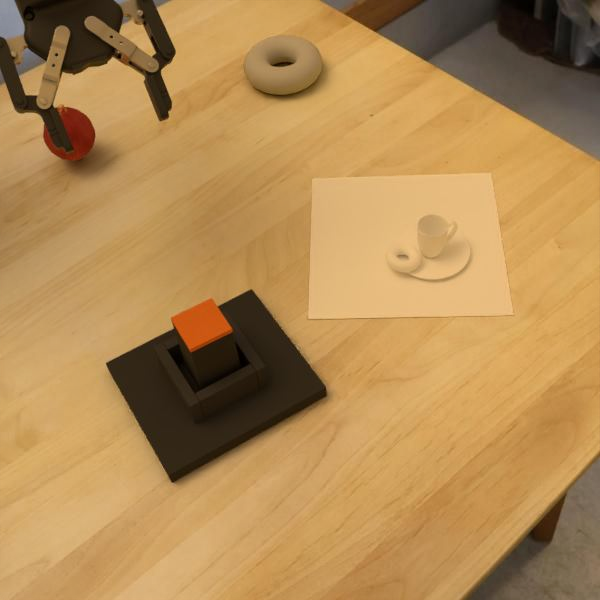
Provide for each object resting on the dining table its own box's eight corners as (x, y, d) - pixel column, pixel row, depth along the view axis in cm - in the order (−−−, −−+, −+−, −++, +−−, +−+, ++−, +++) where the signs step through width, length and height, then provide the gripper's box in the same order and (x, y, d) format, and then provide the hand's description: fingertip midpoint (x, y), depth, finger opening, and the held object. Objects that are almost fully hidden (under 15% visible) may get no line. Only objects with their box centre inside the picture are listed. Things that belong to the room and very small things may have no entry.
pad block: (204, 400, 78) (189, 349, 71) (186, 369, 80) (170, 317, 74) (243, 380, 79) (232, 328, 72) (224, 350, 81) (211, 297, 75)
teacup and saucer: (385, 283, 86) (386, 257, 83) (383, 226, 91) (383, 198, 88) (473, 281, 86) (477, 254, 83) (466, 223, 91) (469, 196, 87)
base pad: (172, 483, 74) (161, 458, 71) (109, 371, 82) (97, 344, 79) (327, 395, 79) (324, 368, 75) (253, 297, 87) (248, 269, 83)
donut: (339, 76, 108) (289, 41, 113) (338, 53, 105) (287, 19, 110) (277, 112, 105) (229, 74, 110) (275, 89, 102) (225, 52, 107)
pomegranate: (45, 170, 101) (23, 117, 95) (68, 138, 104) (48, 85, 98) (88, 179, 99) (69, 125, 93) (110, 146, 103) (93, 92, 96)
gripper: (-49, -41, 66) (36, 159, 68) (126, -93, 69) (201, 100, 71) (-37, -11, 73) (39, 168, 75) (121, -59, 76) (189, 115, 78)
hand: (118, 135), depth 73 cm, fingers open, 8 cm apart
